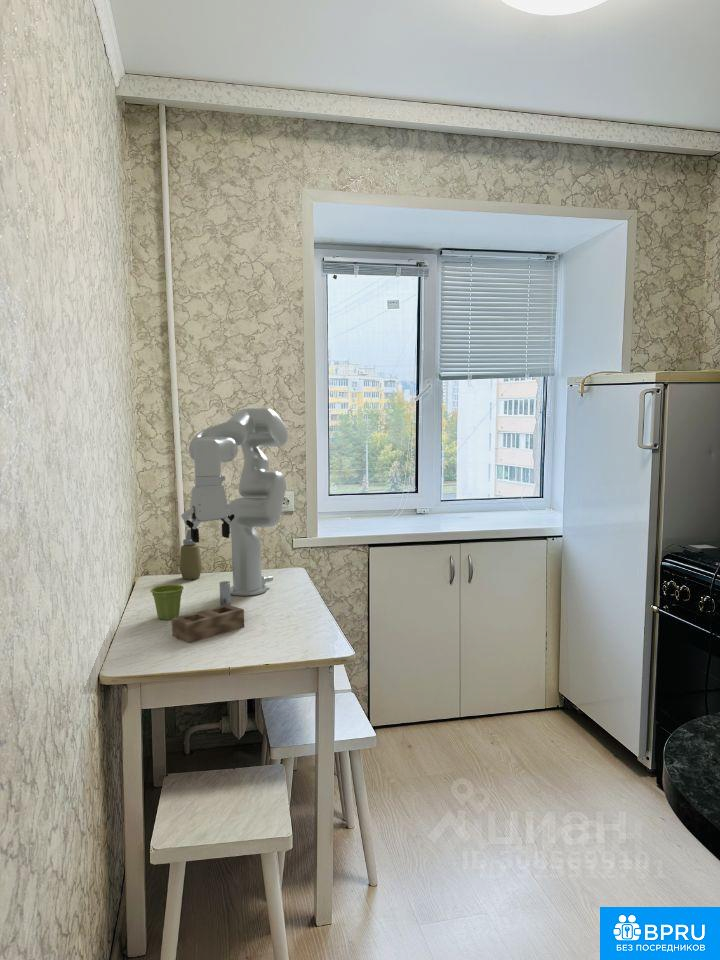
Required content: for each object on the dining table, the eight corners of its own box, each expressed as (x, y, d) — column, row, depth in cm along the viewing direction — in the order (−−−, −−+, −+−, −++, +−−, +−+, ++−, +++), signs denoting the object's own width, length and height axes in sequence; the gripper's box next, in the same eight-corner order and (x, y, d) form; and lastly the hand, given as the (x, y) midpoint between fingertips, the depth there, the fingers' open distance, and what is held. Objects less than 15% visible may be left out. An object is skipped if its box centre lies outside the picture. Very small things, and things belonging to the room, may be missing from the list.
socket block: (227, 621, 199) (227, 604, 198) (244, 626, 193) (243, 609, 193) (172, 636, 186) (171, 618, 185) (189, 643, 180) (188, 624, 180)
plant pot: (151, 614, 207) (150, 586, 206) (183, 610, 210) (182, 583, 209) (152, 623, 198) (150, 593, 197) (185, 619, 201) (184, 590, 200)
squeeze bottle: (181, 576, 254) (179, 528, 253) (203, 575, 255) (201, 527, 254) (178, 581, 246) (176, 531, 245) (201, 580, 247) (199, 531, 246)
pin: (227, 613, 206) (225, 580, 205) (233, 615, 204) (231, 582, 203) (218, 615, 204) (217, 582, 203) (224, 617, 202) (223, 584, 201)
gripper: (228, 478, 208) (230, 534, 210) (174, 483, 197) (177, 542, 199) (241, 480, 202) (243, 537, 204) (186, 485, 191) (189, 545, 193)
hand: (210, 539), depth 201 cm, fingers open, 9 cm apart
